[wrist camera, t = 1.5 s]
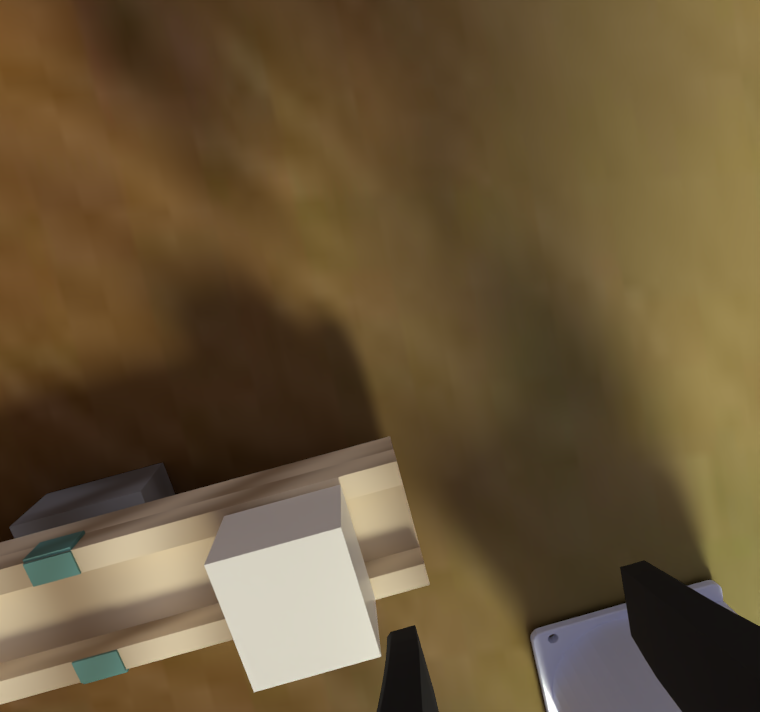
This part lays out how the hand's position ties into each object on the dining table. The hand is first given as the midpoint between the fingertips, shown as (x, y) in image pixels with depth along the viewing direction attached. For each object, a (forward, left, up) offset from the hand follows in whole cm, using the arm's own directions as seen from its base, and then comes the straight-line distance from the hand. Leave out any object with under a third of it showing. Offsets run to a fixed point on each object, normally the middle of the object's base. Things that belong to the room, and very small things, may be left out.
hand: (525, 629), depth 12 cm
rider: (+6, 0, -7) cm, 9 cm away
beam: (+14, 0, -10) cm, 17 cm away
